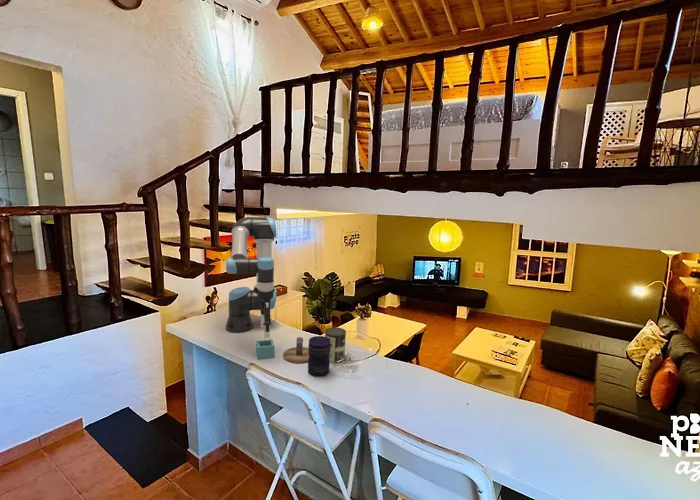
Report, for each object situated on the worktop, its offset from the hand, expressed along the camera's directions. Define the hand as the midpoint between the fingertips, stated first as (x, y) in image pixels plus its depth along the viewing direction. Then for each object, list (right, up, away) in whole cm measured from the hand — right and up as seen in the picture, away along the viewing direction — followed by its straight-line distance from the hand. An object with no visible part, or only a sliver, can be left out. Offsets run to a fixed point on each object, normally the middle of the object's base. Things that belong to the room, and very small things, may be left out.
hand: (265, 332), depth 172 cm
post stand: (+16, -12, +3) cm, 20 cm away
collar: (-1, -12, +2) cm, 12 cm away
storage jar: (+27, -15, -11) cm, 33 cm away
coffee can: (+33, -14, +2) cm, 36 cm away
